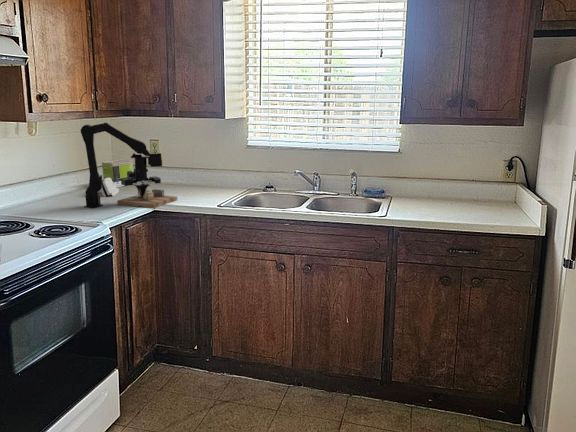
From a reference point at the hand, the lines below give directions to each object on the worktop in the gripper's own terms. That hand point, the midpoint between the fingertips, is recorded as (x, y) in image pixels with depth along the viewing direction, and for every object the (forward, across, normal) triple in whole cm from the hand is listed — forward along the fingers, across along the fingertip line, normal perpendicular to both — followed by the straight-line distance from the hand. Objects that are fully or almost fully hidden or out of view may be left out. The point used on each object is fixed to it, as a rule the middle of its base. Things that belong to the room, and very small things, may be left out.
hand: (141, 198), depth 270 cm
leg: (+1, -3, -2) cm, 4 cm away
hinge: (+3, +3, -36) cm, 37 cm away
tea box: (+3, -12, -58) cm, 59 cm away
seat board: (+3, -4, -1) cm, 5 cm away
